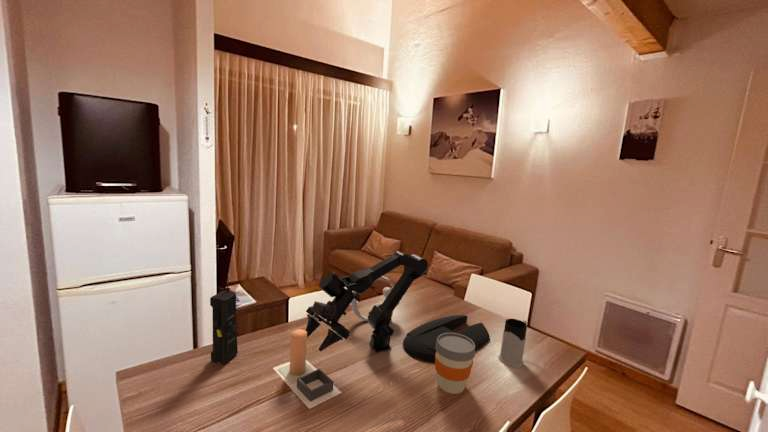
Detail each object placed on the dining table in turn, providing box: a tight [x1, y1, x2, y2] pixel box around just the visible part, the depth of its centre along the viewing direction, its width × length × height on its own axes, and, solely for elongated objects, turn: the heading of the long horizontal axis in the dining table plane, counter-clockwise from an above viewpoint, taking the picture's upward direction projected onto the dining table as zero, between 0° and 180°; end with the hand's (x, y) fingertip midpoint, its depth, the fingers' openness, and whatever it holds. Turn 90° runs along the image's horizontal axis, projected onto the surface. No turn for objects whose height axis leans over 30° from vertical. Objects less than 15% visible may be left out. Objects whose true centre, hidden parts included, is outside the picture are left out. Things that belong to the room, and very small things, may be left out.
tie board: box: [272, 359, 342, 410], centre depth 106 cm, size 23×11×4 cm, turn 43°
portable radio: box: [209, 284, 239, 365], centre depth 114 cm, size 8×6×25 cm
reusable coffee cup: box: [434, 332, 476, 395], centre depth 110 cm, size 13×13×15 cm
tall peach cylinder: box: [289, 328, 308, 375], centre depth 109 cm, size 5×5×13 cm
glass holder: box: [498, 318, 528, 368], centre depth 129 cm, size 9×14×15 cm, turn 135°
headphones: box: [350, 275, 403, 322], centre depth 149 cm, size 21×9×22 cm
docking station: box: [402, 314, 491, 363], centre depth 139 cm, size 25×41×5 cm, turn 131°
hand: (311, 344), depth 112 cm, fingers open, 9 cm apart
